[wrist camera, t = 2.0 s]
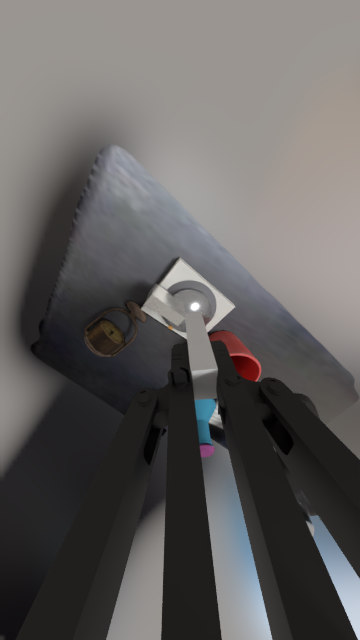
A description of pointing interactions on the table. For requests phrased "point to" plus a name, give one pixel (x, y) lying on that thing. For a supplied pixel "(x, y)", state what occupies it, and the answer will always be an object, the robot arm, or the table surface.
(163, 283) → the dial housing
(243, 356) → the flower pot
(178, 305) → the dial
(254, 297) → the table surface
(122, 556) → the robot arm
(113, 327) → the brown piece
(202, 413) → the perfume bottle
